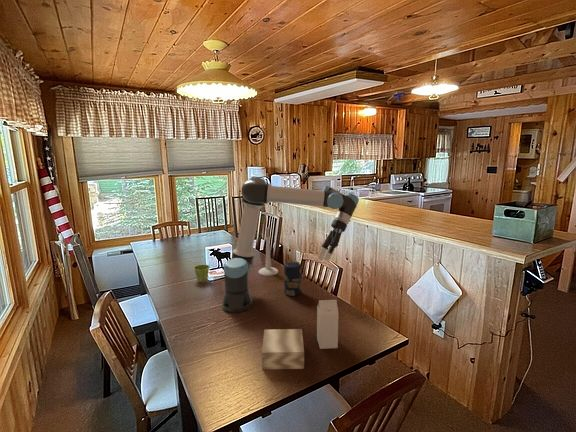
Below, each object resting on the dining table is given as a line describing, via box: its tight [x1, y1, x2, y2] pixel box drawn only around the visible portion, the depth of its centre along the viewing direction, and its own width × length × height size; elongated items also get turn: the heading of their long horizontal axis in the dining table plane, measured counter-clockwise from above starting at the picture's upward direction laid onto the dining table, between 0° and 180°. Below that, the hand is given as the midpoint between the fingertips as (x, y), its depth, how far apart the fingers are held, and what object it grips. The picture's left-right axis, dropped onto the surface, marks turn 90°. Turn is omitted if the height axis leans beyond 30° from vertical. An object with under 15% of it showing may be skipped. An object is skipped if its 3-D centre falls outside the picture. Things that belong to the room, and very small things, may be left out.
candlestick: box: [258, 227, 279, 277], centre depth 205 cm, size 13×13×30 cm
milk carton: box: [316, 299, 339, 350], centre depth 127 cm, size 7×7×19 cm
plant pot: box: [193, 264, 211, 283], centre depth 193 cm, size 9×9×9 cm
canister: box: [283, 261, 303, 297], centre depth 174 cm, size 10×10×18 cm
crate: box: [261, 328, 305, 370], centre depth 121 cm, size 15×15×7 cm
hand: (322, 259), depth 158 cm, fingers open, 13 cm apart
